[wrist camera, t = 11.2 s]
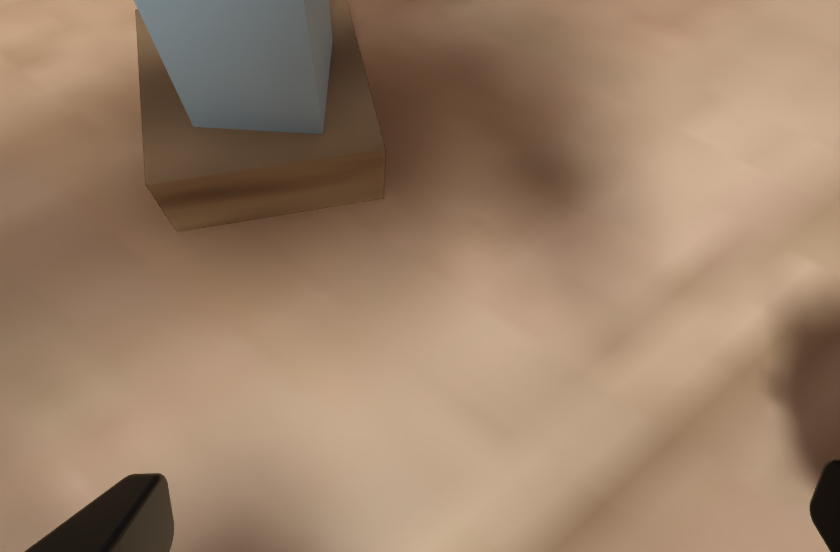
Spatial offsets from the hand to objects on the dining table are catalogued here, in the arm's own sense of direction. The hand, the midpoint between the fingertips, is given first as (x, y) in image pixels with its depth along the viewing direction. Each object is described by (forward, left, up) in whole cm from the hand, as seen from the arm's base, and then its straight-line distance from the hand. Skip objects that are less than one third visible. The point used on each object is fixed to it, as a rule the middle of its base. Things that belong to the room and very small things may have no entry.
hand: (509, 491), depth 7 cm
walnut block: (0, +18, -14) cm, 23 cm away
